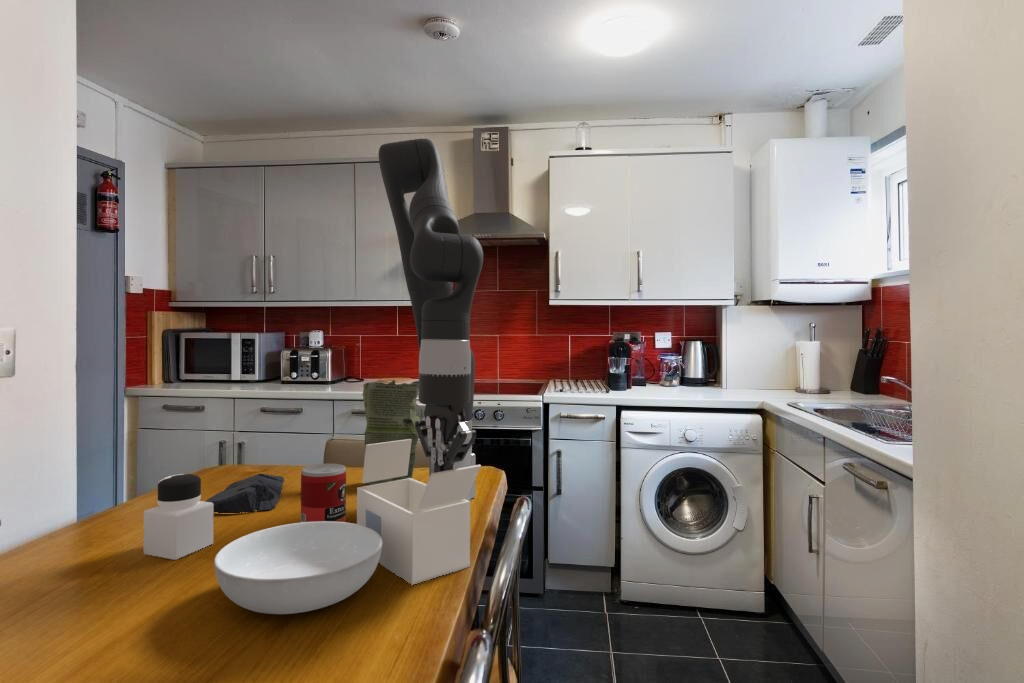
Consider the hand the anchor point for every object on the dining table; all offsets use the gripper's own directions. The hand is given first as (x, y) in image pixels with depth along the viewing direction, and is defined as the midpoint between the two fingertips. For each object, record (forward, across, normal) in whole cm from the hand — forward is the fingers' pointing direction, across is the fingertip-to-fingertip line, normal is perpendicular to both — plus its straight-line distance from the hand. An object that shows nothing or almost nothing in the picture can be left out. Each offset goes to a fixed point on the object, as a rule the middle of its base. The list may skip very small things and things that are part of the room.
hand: (443, 489), depth 78 cm
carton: (+13, +9, 0) cm, 16 cm away
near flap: (-1, -1, 0) cm, 2 cm away
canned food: (+13, +31, +5) cm, 34 cm away
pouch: (+14, +50, -19) cm, 55 cm away
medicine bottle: (+14, +36, +27) cm, 47 cm away
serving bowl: (+13, +8, +17) cm, 23 cm away
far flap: (-1, +17, 0) cm, 17 cm away
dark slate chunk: (+14, +60, +10) cm, 62 cm away
